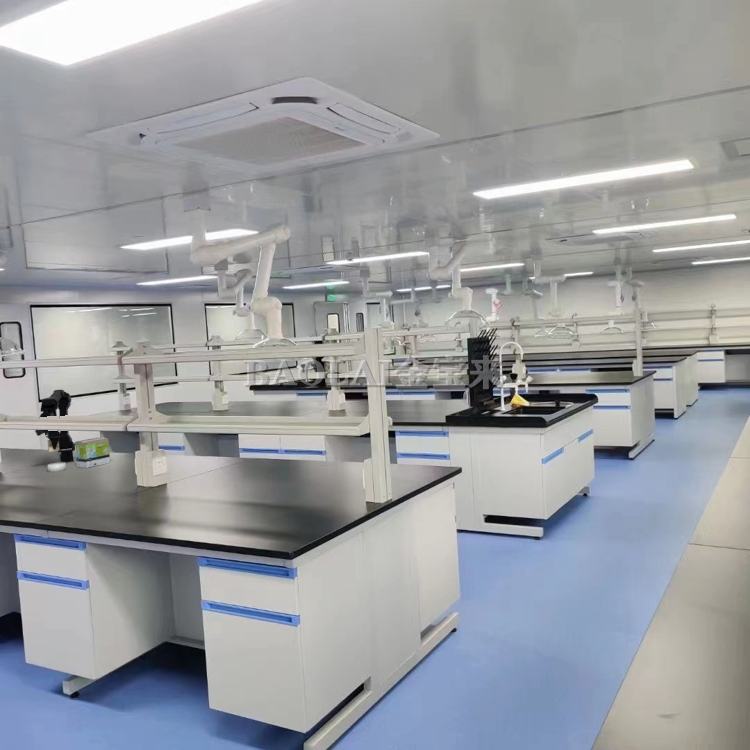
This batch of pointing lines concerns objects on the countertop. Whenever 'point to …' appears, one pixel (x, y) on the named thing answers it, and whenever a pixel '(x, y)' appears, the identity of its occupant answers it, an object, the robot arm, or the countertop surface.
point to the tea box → (92, 452)
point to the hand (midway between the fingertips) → (53, 448)
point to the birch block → (52, 447)
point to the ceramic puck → (57, 467)
